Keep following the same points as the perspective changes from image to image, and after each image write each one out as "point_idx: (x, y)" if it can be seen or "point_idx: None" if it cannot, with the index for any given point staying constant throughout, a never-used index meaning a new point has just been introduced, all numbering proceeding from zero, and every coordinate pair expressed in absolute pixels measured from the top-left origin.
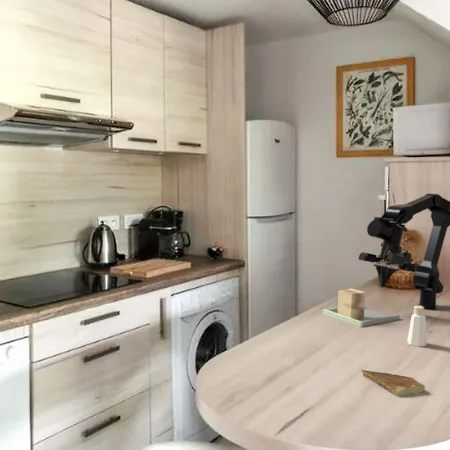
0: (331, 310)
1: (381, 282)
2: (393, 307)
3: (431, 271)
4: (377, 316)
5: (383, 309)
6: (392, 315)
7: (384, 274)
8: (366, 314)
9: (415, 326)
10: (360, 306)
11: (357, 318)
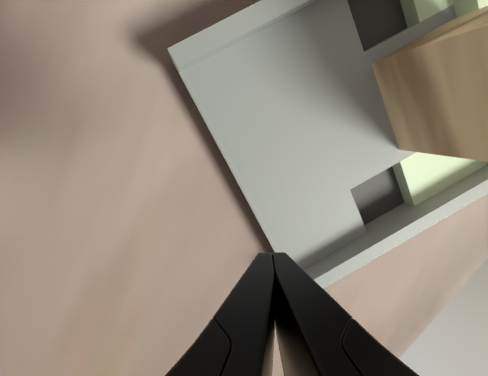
0: (481, 178)
1: (306, 278)
2: (101, 350)
3: None
4: (279, 116)
5: (169, 309)
6: (222, 37)
7: (335, 364)
8: (321, 155)
9: None
10: (465, 24)
11: (420, 37)
